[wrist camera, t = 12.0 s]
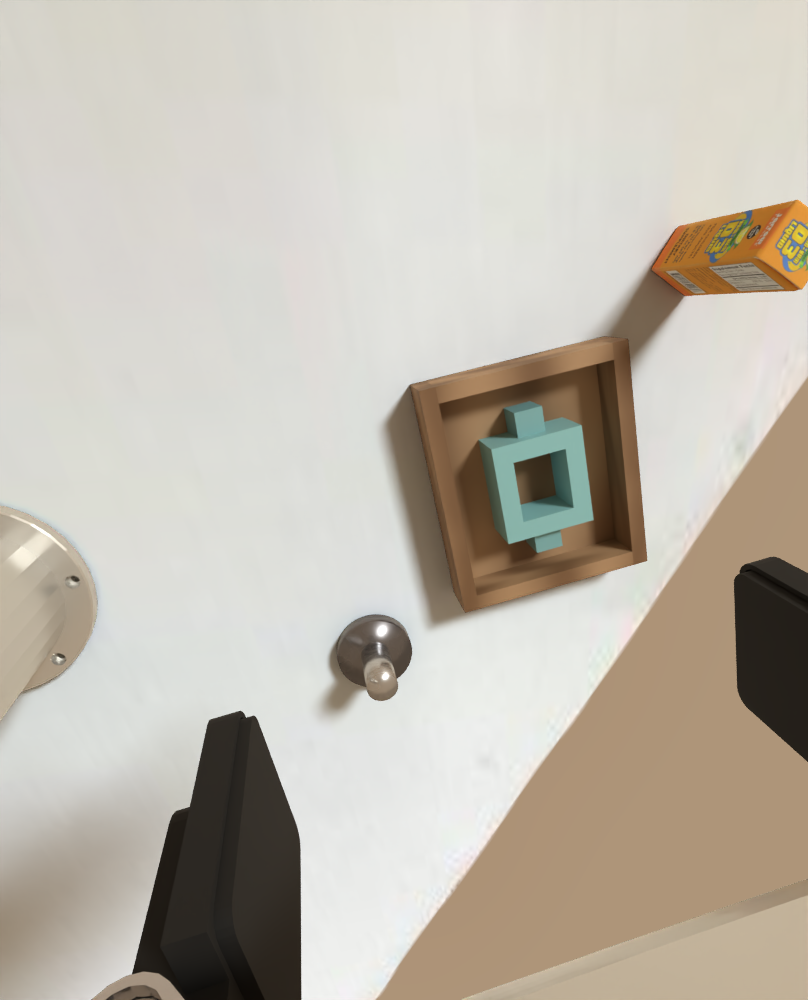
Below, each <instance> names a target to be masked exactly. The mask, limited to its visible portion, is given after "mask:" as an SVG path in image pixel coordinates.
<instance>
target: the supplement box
mask: <svg viewBox="0 0 808 1000" xmlns="http://www.w3.org/2000/svg"><path fill="white" fill-rule="evenodd" d="M651 270H652V271H653V272H654V273H656V274H657V275H658V276H660V277H661V278H663V279H664V280H665V281H666V282H668V283H669V284H670V285H671V286H673V287H674V288H675V289H677V290H678V291H679V292H681V293H682V294H683V295H684V296H692V295H708V294H731V293H751V292H777V291H796V290H798V289H800V290H801V289H803V287H804V286H805V284H806V283H807V281H808V207H807V206H806V205H804V204H803V203H802V202H801V201H799V200H795V201H790V202H786V203H781V204H777V205H773V206H768V207H763V208H759V209H754V210H749V211H745V212H741V213H736V214H732V215H727V216H722V217H717V218H713V219H709V220H705V221H700V222H695V223H691V224H687V225H682V226H678V228H677V229H676V230H675V232H674V234H673V235H672V237H671V238H670V240H669V241H668V243H667V245H666V246H665V248H664V249H663V251H662V253H661V254H660V256H659V257H658V259H657V261H656V262H655V264H654V266H653V267H652V269H651Z"/></svg>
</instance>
